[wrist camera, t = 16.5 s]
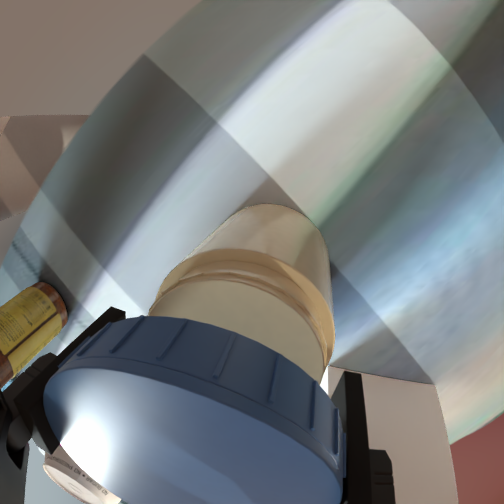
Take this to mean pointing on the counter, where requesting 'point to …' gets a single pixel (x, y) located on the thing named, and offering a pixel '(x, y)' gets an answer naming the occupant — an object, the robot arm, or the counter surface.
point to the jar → (260, 284)
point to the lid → (195, 417)
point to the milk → (407, 435)
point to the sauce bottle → (28, 326)
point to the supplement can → (76, 479)
